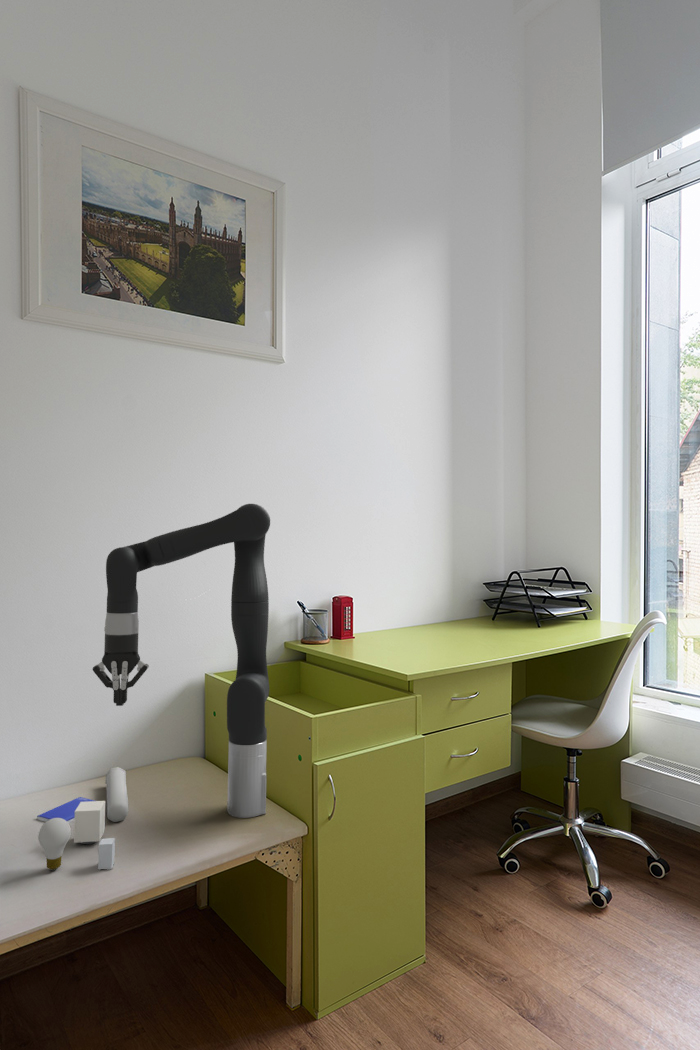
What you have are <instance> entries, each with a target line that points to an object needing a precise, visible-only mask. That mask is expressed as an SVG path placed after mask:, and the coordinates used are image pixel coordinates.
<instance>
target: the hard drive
mask: <svg viewBox="0 0 700 1050" xmlns="http://www.w3.org/2000/svg"><path fill="white" fill-rule="evenodd" d="M88 801H96V800H94V799H89V798H87V797H86V798H85V797H82V796H78V797H76V798H74V799H73V800H70V801H68V802H66V803H63V804H61V805H59V806H56V807H54V808H52V809H49V810H47V811H44V812H43V813H41V814H39V815H37V816H36V820H38V821H42V822H44V823H45V822H47V821H48V820H50V819H53V818H62V819H64V820H66V821H67V822H68V824H70V823H71V822H73V821H74V820H75V810H76V809H77V807H78V805H79V804H80V802H88Z"/></svg>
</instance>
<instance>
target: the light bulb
mask: <svg viewBox="0 0 700 1050" xmlns="http://www.w3.org/2000/svg"><path fill="white" fill-rule="evenodd" d="M71 834H72V829H71V826H70V823H68V822H67V821H66V820H64V819H62V818H53V819H50V820H48V821H47V822H45V821H44V823H43V824H42V826H41V827H40V829H39V832H38V835H37V837H38V843H39V844H40V847H42V849H43V852H44V854H45V857H46V868H47V869H48V870H49V871H52V870H53V871H56V870H57V869H58V868H60V867H61V865H62V857H63V856H62V855H63V853H64V850H65V847H66V845H67V843H68V842H69V840H70V838H71Z"/></svg>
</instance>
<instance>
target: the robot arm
mask: <svg viewBox="0 0 700 1050" xmlns="http://www.w3.org/2000/svg"><path fill="white" fill-rule="evenodd" d="M270 527H271V517H270V515H269V512H268V511H267V510H266V509H265V508H264V507H262V505H259V504H256V503H247V504H243V505H241V506H240V507H238V508H237V509H235V510H234V511H232V512H230V513H228V514H226V515H223V516H221V517H218V518H217V519H214V520H210V521H207V522H204V523H200V524H196V525H193V526H189V527H185V528H181V529H177V530H173V531H170V532H167V533H164V534H163V533H162V534H160V535H158V536H154V537H151V538H150V539H147V540H145V541H141V542H137V543H133V544H131V545H129V544H128V545H126V546H123V547H122V546H121V547H117V548H114V549H113V550H111V551H110V552H109V554H108V555H107V557H106V562H105V576H106V577H105V578H106V587H107V595H106V614H105V615H106V616H105V621H104V648H103V649H104V650H103V651H104V653H103V656H102V658H101V661H100V662H99V663H98V664H95V665H94V666H93V667H92V671H93V673H94V674H95V675H96V676H97V677H98V679H99V680H100V681H101V683H102V684H103V686H104V687H106V688H107V689H108V688H110V689H112V690H113V699H112V700H113V703H114V704H115V706H117V707H118V706H119V707H122V706H124V705H125V704H126V702H127V701H128V689H130V688H133V687H134V686H135V684H136V683H137V682H138V681H139V680H140V678H142V676H143V675H144V674H145V672H147V670H148V669H149V664H148V663H144V662H143V661H142V660H141V656H140V655H139V622H140V621H139V614H138V613H139V610H138V609H139V595H138V593H139V592H138V589H137V581H138V580H137V578H138V577H137V576H138V573H140V572H142V571H144V570H148V569H151V568H153V567H159V566H163V565H166V564H167V565H168V564H171V563H174V562H176V561H181V560H183V559H185V558H189V557H191V556H194V555H197V554H199V553H202V552H205V551H207V550H210V549H213V548H216V547H219V546H223V545H226V544H231V543H233V545H234V548H233V549H234V568H233V574H232V575H233V576H232V584H231V596H230V597H231V599H230V602H231V603H230V604H231V605H230V607H231V610H230V613H231V614H230V616H231V626H232V632H233V636H234V640H235V644H236V651H237V661H236V663H237V664H236V674H235V679H234V680H233V682H232V683H231V684H230V685H229V687H228V689H227V690H228V691H227V694H226V728H227V732H228V756H227V757H228V759H227V761H228V763H227V764H228V765H227V767H228V768H227V802H226V803H227V805H226V806H227V810H226V811H227V813H228V815H230V816H231V817H235V818H240V819H241V818H242V819H244V818H246V819H248V818H254V817H257V816H260V815H266V814H267V736H268V731H267V727H266V721H265V720H266V718H265V717H266V714H265V713H266V710H265V708H266V701H267V699H268V698H269V694H270V681H269V674H268V673H269V672H268V662H267V644H268V636H269V635H268V632H269V610H270V609H269V607H270V606H269V605H270V604H269V601H270V599H269V588H268V580H267V574H266V573H267V572H266V568H265V547H266V546H265V544H266V543H265V542H266V535H267V533H268V531H269V530H270ZM135 667H137V668H135ZM134 669H136V670H137V671H136V674H135V675H134V677H132V679H131V680H129V677H130V674H131V673H132V672H133V670H134ZM105 670H107V671H108V672H109V673H110V674H111V678H110V677H109V675H108V674H107V673H106V672H105Z"/></svg>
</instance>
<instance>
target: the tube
mask: <svg viewBox="0 0 700 1050" xmlns="http://www.w3.org/2000/svg"><path fill="white" fill-rule="evenodd" d="M126 775H127V772H126V770H125V769H123V768H121V767H110V768H109V770H108V771H107V773H106V774H105V784H106V813H107V815H106V816H107V818H106V819H108V820H110V821H111V822H114V823H117V822H122V821H124V820H125V819H126V818H127V816H128V814H129V799H128V797H129V796H128V791H127V790H128V789H127V779H126V778H127V777H126Z"/></svg>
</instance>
